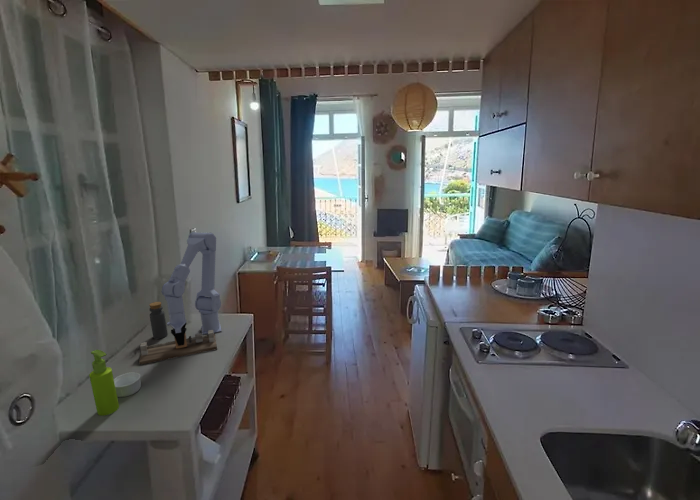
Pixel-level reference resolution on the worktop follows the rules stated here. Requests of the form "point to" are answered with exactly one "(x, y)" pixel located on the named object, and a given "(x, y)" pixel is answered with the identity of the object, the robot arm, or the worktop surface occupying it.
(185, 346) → the sleeve
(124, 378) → the ramekin
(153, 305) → the bottle
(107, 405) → the soap dispenser
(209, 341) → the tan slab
